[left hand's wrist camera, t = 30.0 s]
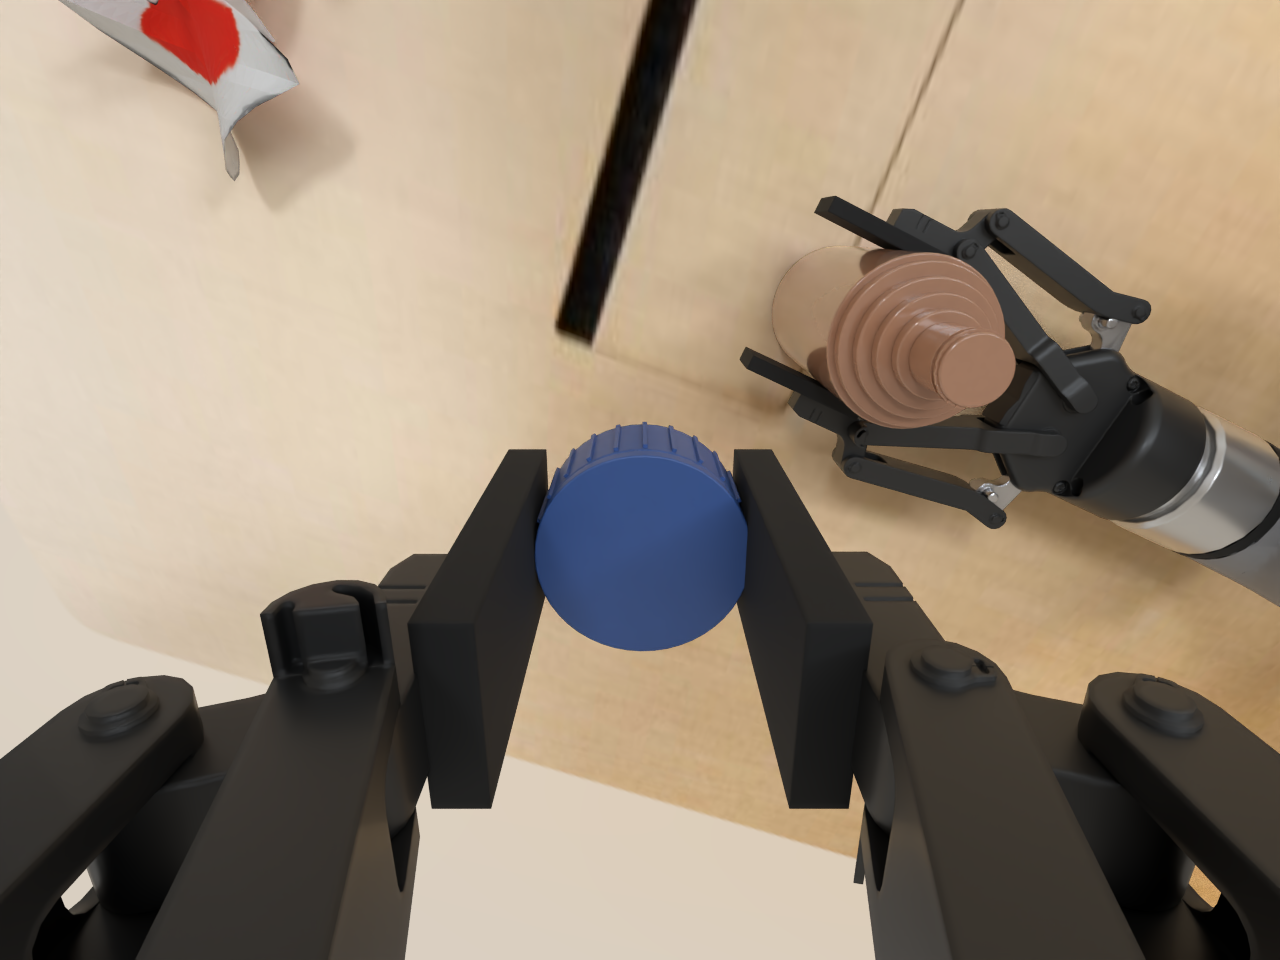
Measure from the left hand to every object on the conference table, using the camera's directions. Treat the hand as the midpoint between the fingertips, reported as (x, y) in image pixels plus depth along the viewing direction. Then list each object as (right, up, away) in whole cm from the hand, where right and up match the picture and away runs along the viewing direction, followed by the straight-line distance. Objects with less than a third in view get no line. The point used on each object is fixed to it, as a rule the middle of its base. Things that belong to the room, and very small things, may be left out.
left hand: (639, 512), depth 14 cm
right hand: (+7, +11, +21) cm, 25 cm away
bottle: (+12, +11, +28) cm, 32 cm away
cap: (0, -1, -2) cm, 2 cm away
